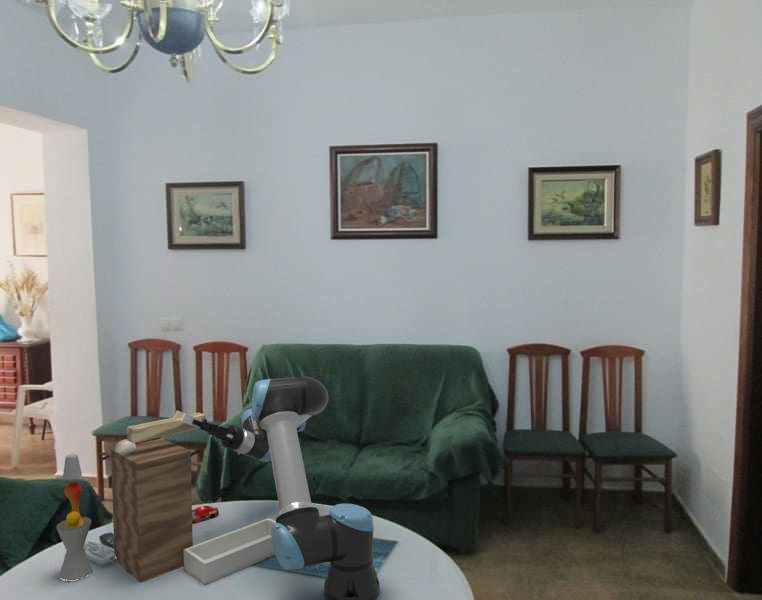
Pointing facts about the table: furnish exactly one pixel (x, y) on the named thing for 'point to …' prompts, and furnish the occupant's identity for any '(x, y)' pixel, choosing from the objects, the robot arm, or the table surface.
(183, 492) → the wooden block
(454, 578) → the table surface
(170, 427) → the wooden board
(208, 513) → the race car
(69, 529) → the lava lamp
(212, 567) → the tray
